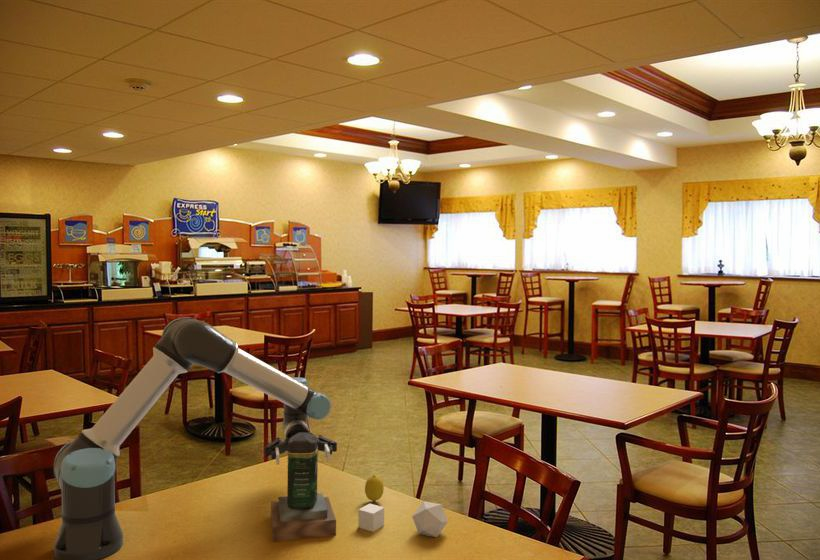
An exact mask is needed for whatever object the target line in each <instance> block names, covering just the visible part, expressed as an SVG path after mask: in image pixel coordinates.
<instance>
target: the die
mask: <svg viewBox="0 0 820 560" xmlns="http://www.w3.org/2000/svg"><path fill="white" fill-rule="evenodd" d="M411 517H412V520H413V523H414V525H415V527H416V531H417V533H418V535H422V536H427V537H433V538H438V537H439V536H440V534H441V532H442V531H443V529H444V528H445V526H446V525H447V524H448V523H449V522H448V521H449V520H448V519H447V515H446V513H445V511H444V508H443V505H442V504H441V503H436V502H429V501H425V500H424V501H422V503H421V504H420V505H419V506H418V508H417V509H416V511H415V512H414V513H413V515H412V516H411Z"/></svg>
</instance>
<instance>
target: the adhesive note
mask: <svg viewBox="0 0 820 560" xmlns="http://www.w3.org/2000/svg"><path fill="white" fill-rule="evenodd" d="M357 522H358V528H360V529H363V530H364V531H369V532H373V533H374V532H376V531H377V530H379V529H380V528H382V527H384V526H385V506H380V505H376V504H373V503H368V504H366V505H364V506H362V507H361V508H358V521H357Z"/></svg>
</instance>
